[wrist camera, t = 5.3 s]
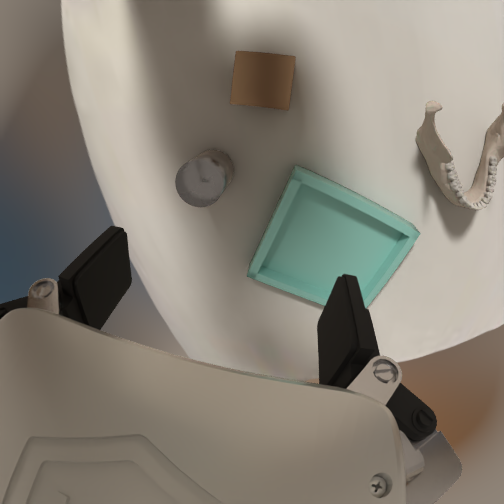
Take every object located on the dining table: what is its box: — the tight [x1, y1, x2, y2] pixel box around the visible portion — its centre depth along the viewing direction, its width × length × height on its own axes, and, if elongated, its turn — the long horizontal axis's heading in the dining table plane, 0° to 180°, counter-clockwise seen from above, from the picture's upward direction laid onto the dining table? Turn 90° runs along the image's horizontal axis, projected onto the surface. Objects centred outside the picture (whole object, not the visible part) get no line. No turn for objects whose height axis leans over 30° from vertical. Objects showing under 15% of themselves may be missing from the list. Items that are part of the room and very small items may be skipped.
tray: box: [247, 165, 420, 308], centre depth 31 cm, size 16×14×2 cm
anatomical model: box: [416, 101, 504, 210], centre depth 21 cm, size 13×11×10 cm
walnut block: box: [230, 51, 295, 110], centre depth 22 cm, size 5×5×5 cm
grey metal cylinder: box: [175, 150, 234, 207], centre depth 27 cm, size 5×5×6 cm
